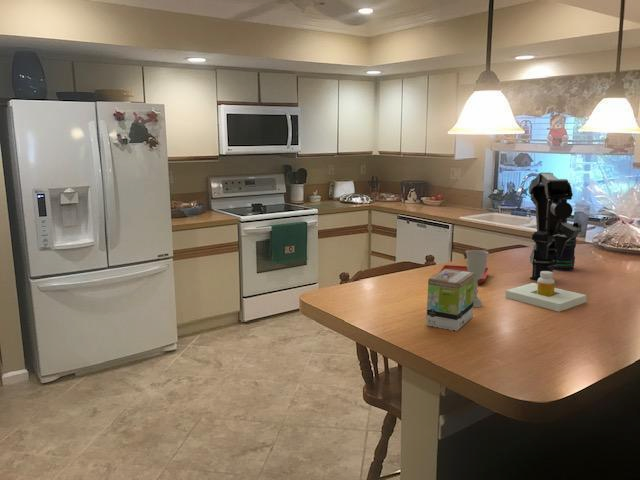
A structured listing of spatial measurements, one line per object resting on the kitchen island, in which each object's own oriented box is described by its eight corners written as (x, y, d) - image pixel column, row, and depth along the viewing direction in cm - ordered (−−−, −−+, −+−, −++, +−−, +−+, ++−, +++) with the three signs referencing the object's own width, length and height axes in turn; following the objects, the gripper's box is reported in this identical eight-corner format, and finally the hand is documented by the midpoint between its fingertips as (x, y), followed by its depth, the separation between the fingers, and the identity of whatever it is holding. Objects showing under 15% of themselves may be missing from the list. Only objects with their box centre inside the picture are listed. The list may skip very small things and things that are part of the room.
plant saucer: (436, 282, 209) (436, 274, 208) (443, 272, 225) (443, 264, 224) (485, 287, 202) (485, 278, 201) (488, 275, 219) (489, 267, 218)
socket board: (505, 297, 188) (505, 290, 187) (532, 289, 197) (532, 282, 196) (559, 311, 172) (559, 304, 171) (585, 302, 181) (586, 295, 180)
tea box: (458, 332, 155) (460, 282, 153) (425, 326, 161) (426, 278, 158) (473, 317, 168) (475, 271, 165) (442, 312, 173) (443, 267, 170)
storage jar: (575, 267, 228) (578, 232, 225) (572, 272, 220) (575, 236, 217) (550, 264, 233) (552, 230, 230) (546, 269, 225) (548, 234, 222)
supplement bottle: (555, 302, 181) (557, 274, 179) (538, 301, 182) (539, 273, 180) (551, 297, 186) (553, 270, 184) (535, 297, 187) (536, 270, 185)
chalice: (486, 302, 182) (489, 250, 178) (485, 308, 176) (488, 254, 172) (464, 301, 184) (466, 249, 181) (462, 306, 178) (464, 253, 174)
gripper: (561, 220, 179) (558, 265, 182) (591, 214, 190) (588, 257, 193) (531, 216, 188) (529, 259, 191) (562, 211, 199) (559, 252, 202)
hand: (552, 257), depth 194 cm, fingers open, 9 cm apart
